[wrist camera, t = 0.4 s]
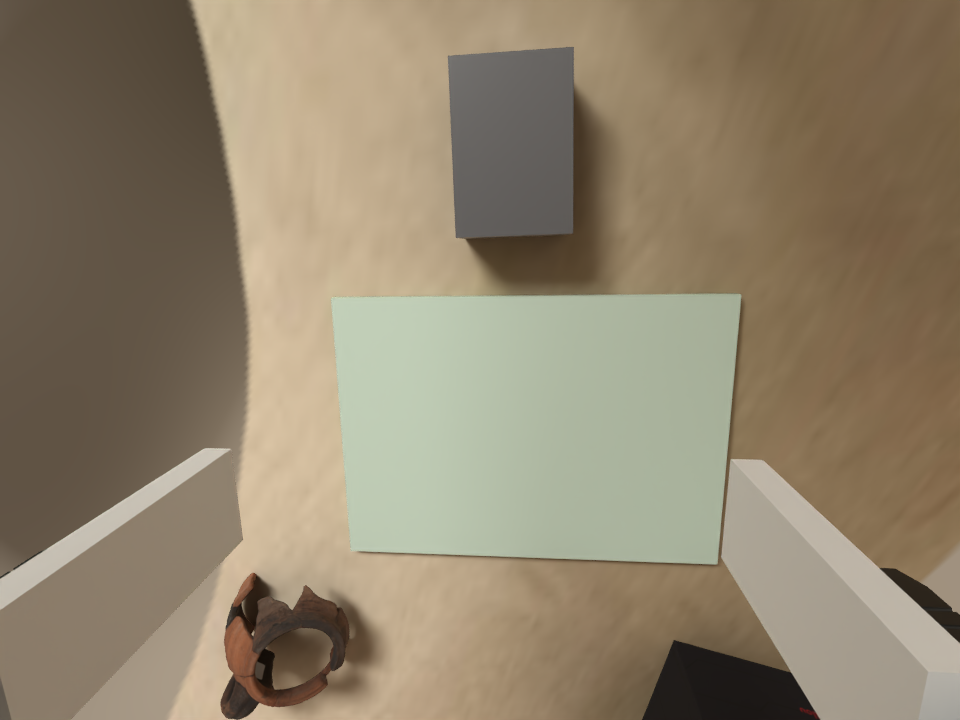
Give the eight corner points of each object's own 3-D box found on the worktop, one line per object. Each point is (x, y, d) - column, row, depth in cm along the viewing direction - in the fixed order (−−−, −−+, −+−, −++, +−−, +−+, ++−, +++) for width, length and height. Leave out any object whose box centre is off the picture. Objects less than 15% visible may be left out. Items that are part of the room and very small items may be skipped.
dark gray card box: (459, 82, 34) (448, 55, 29) (567, 75, 34) (573, 46, 29) (465, 238, 36) (455, 237, 32) (567, 235, 36) (573, 233, 31)
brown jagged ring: (258, 536, 43) (265, 597, 36) (357, 565, 48) (381, 624, 41) (185, 664, 43) (177, 752, 36) (292, 681, 48) (304, 761, 40)
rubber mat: (335, 297, 38) (331, 298, 37) (736, 293, 35) (741, 294, 34) (354, 545, 42) (350, 550, 41) (713, 558, 40) (717, 564, 39)
